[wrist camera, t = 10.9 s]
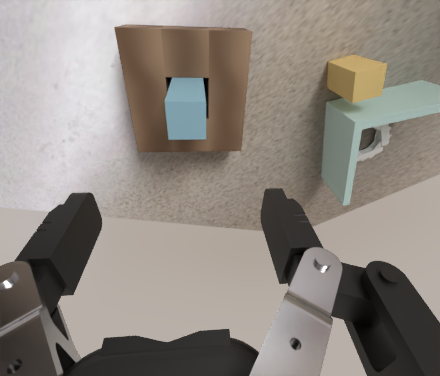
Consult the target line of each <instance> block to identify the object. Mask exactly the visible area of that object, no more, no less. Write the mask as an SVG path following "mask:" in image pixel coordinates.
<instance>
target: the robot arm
mask: <svg viewBox="0 0 440 376" xmlns="http://www.w3.org/2000/svg"><path fill="white" fill-rule="evenodd" d="M261 224H262V228H263V231H264V234H265V238H266V241H267V244H268V247H269V251H270V254H271V257H272V261H273V264H274V267H275V270H276V274H277V277H278V280H279V283H280V284H286V283H288V286H289V289H288V291H287V293H286V294H285V296H284V298H283V301H282V303H281V305H280V307H279V310H278V312H277V314H276V317H275V319H274V321H273V323H272V326H271V328H270V330H269V332H268V335H267V337H266V339H265V341H264V343H263V346H262V348H261V351H260V352H258V351H256V350H255V349H254V348H253V347H251V346H250V345H248V344H246V343H244V342H242V341H240V340H237V339H234V338H230V332H229V329H221V330H207V331H198V332H195V333H193V334H190V335H187V336H184V337H182V338H179V339H176V340H173V341H171V342H162V341H157V340H153V339H149V338H144V337H140V336H125V337H113V338H112V337H111V338H104V341H103V344H102V348H101V349H98V350H96V351H94V352H92V353H90V354H88V355H87V356H85V357H83V358H82V359H81V357H80V355H79V354H78V352H77V350H76V348H75V346H74V344H73V342H72V339H71V336H70V334H69V331H68V328H67V325H66V323H65V320H64V317H63V314H62V312H61V309H60V307H59V305H58V302H59V299H60V298H61V296H64V295H73V294H74V292H75V290H76V287H77V285H78V283H79V280H80V278H81V276H82V273H83V271H84V268H85V266H86V264H87V261H88V259H89V257H90V255H91V252H92V250H93V247H94V245H95V243H96V240H97V238H98V236H99V233H100V231H101V228H102V218H101V215H100V212H99V209H98V207H97V204H96V201H95V198H94V196H93V194H92V193H72V194H71V195H70V196H69V197H68V199H67V200H66V202H65V203H64V204H63V205H58V206H57V207H56V208H55V209H53V210H52V211H51V212H49V213H48V215H47V216H46V218H45V219H44V221H43V222H42V224H41V225H40V226H39V227H38V229H37V232H35V233H34V234H33V236H32V237H31V239H30V240H29V241H28V243H27V244H26V246H25V247H24V248H23V250H22V251H21V253H20V254H19V255H18V257H17V258H16V259H15V261H14V262H10V263H7V264H4V265H2V266H0V376H320V373H321V368H322V364H323V360H324V356H325V352H326V348H327V344H328V340H329V336H330V332H331V328H332V322H333V319H332V318H331V316H332V317H336V318H340V319H343V320H344V321H345V324H346V326H347V329H348V331H349V333H350V336H351V338H352V340H353V343H354V345H355V348H356V350H357V353H358V355H359V357H360V360H361V362H362V364H363V367H364V369H365V372H366V374H367V376H440V323H439V321H438V320H437V318H436V317H435V316H434V314H433V313H432V312H431V310H430V309H429V307H428V306H427V304H426V303H425V302H424V300H423V299H422V297H421V296H420V295H419V293H418V292H417V291H416V289H415V288H414V286H413V285H412V284H411V282H410V281H409V279H408V278H407V277H406V275H405V274H404V273H403V272H402V271H400V270H399V269H398V268H396V267H395V266H393V265H391V264H389V263H386V262H382V261H373V262H370V263H369V264H368V265H367V267H366V268H362V267H358V266H353V265H349V264H345V263H342V262H340V260H339V259H338V257H337V256H335V255H334V254H333V253H332V252H330V251H328V250H326V249H324V248H323V246H322V245H321V243H320V241H319V239H318V237H317V235H316V233H315V231H314V229H313V228H312V226H311V224H310V222H309V220H308V218H307V216H306V215H305V212H304V211H303V209H302V207H301V205H300V204H298V203H297V202H296V201H295V200H294V199H287V197H286V195H285V193H284V191H283V189H281V188H276V189H266V190H265V192H264V198H263V203H262V209H261Z"/></svg>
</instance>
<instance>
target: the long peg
mask: <svg viewBox="0 0 440 376" xmlns="http://www.w3.org/2000/svg"><path fill="white" fill-rule="evenodd" d="M165 111H166V120H167V130H168V139H169V140H190V139H206V97H205V89H204V82H203V78H191V77H172V79H171V83H170V86H169V89H168V92H167V95H166V98H165Z"/></svg>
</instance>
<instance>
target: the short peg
mask: <svg viewBox="0 0 440 376" xmlns="http://www.w3.org/2000/svg"><path fill="white" fill-rule="evenodd" d="M386 69H387V64H385V63H381V62H378V61H375V60H371V59H368V58H364V57H361V56H357V55H351V56H347V57H343V58H339V59H336V60H332V61H328V71H327V88H328V89H330V90H331V91H333V92H335V93H336V94H338V95H340V96H341V97H343V98H345V99H346V100H348V101H350V102H351V103H355V102H359V101H363V100H366V99H370V98H374V97H378V96H382V91H383V86H384V80H385V74H386Z"/></svg>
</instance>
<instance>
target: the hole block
mask: <svg viewBox="0 0 440 376" xmlns="http://www.w3.org/2000/svg"><path fill="white" fill-rule="evenodd" d="M114 28H115V33H116V38H117V44H118V49H119V54H120V59H121V64H122V69H123V75H124V80H125V85H126V90H127V95H128V101H129V106H130V111H131V116H132V121H133V126H134V132H135V137H136V142H137V147H138V152H192V151H241V146H242V135H243V125H244V114H245V103H246V93H247V82H248V71H249V61H250V50H251V39H252V31H249V30H247V29H244V28H215V27H184V26H154V25H122V26H118V27H114ZM170 77H191V78H207V106H206V139H190V140H169V139H168V130H167V120H166V111H165V98H166V95H167V92H168V89H169V86H170V83H171V82H170Z"/></svg>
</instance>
